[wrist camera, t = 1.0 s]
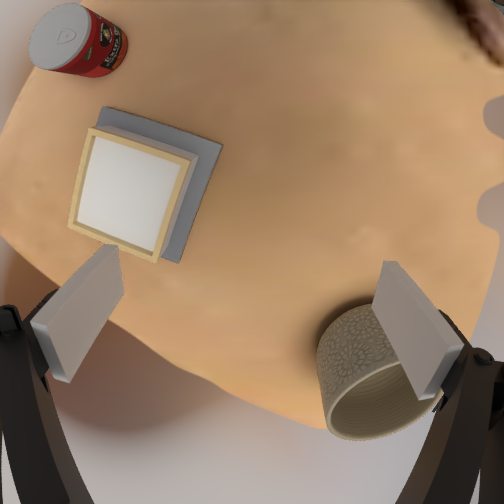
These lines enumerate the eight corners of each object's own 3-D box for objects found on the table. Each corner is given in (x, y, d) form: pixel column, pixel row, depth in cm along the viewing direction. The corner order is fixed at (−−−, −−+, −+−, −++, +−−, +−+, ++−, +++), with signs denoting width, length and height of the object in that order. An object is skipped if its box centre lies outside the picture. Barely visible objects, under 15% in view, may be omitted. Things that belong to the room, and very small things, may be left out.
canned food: (127, 73, 30) (84, 59, 20) (75, 83, 30) (24, 77, 20) (131, 20, 27) (93, -8, 17) (79, 33, 27) (32, 15, 17)
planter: (379, 267, 41) (427, 333, 27) (420, 331, 46) (458, 393, 32) (287, 333, 45) (299, 413, 31) (342, 383, 51) (361, 451, 37)
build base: (107, 106, 32) (80, 105, 26) (223, 144, 34) (216, 149, 28) (79, 218, 38) (53, 236, 32) (180, 258, 40) (168, 284, 34)
